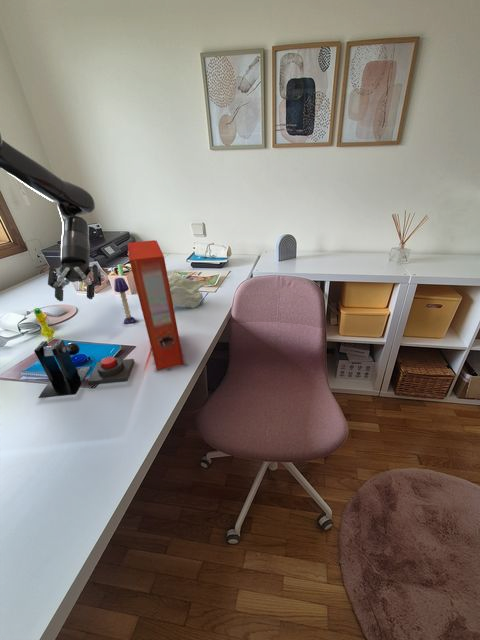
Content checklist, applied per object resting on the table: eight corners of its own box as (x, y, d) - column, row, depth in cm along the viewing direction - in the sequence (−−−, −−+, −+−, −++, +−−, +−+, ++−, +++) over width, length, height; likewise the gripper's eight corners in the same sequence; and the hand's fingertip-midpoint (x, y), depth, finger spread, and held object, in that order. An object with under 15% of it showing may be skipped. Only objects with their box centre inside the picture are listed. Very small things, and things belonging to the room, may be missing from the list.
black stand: (59, 372, 87) (41, 334, 80) (92, 369, 88) (76, 331, 81) (40, 400, 77) (16, 360, 70) (77, 397, 78) (57, 356, 71)
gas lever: (69, 355, 88) (68, 343, 88) (82, 354, 88) (81, 342, 88) (41, 359, 75) (39, 344, 75) (56, 357, 75) (55, 343, 75)
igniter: (101, 369, 81) (98, 364, 80) (104, 362, 84) (103, 357, 83) (114, 368, 82) (112, 363, 81) (118, 361, 85) (116, 355, 84)
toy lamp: (132, 317, 115) (119, 275, 106) (140, 320, 113) (128, 277, 104) (121, 323, 111) (108, 280, 102) (130, 326, 109) (117, 282, 100)
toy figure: (47, 336, 104) (31, 304, 98) (58, 334, 105) (44, 302, 99) (45, 345, 99) (28, 313, 92) (57, 343, 100) (42, 310, 94)
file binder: (176, 336, 103) (156, 239, 85) (185, 364, 89) (163, 255, 71) (151, 341, 100) (126, 242, 82) (157, 370, 87) (127, 260, 69)
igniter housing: (89, 387, 81) (84, 376, 79) (100, 367, 88) (95, 356, 86) (128, 384, 82) (124, 372, 80) (135, 364, 89) (131, 353, 87)
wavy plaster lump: (192, 315, 130) (201, 280, 128) (198, 320, 119) (208, 282, 116) (149, 305, 123) (157, 267, 120) (151, 310, 111) (160, 268, 108)
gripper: (43, 244, 89) (41, 296, 86) (94, 242, 90) (93, 293, 87) (58, 257, 96) (57, 305, 93) (104, 255, 97) (105, 302, 94)
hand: (74, 299), depth 90 cm, fingers open, 8 cm apart
